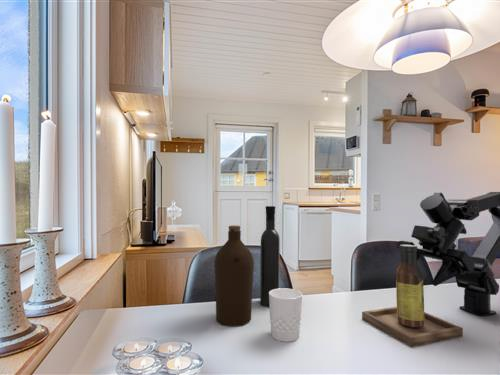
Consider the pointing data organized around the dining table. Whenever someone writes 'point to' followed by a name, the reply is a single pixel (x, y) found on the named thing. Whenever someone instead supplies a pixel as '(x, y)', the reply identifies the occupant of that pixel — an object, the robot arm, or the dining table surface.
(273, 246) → the wine bottle
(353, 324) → the dining table surface
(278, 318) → the white cup
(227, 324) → the olive oil
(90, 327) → the dining table surface
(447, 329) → the walnut tray
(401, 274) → the sauce bottle
